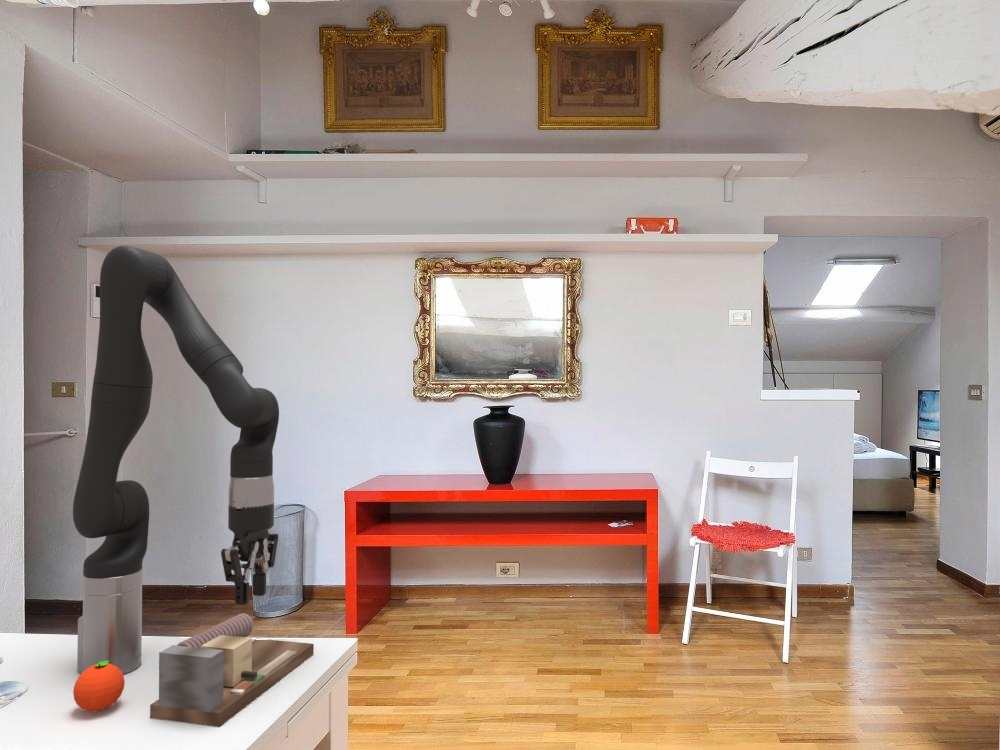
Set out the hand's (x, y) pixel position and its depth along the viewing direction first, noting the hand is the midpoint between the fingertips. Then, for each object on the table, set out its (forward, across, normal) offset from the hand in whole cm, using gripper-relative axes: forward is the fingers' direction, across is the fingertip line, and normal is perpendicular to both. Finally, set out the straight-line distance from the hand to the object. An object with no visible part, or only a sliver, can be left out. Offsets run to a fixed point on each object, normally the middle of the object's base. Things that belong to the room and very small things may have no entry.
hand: (250, 599), depth 118 cm
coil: (+14, -9, -13) cm, 21 cm away
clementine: (+14, +16, -16) cm, 26 cm away
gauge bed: (+13, +3, 0) cm, 14 cm away
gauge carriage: (+11, +8, +1) cm, 14 cm away
